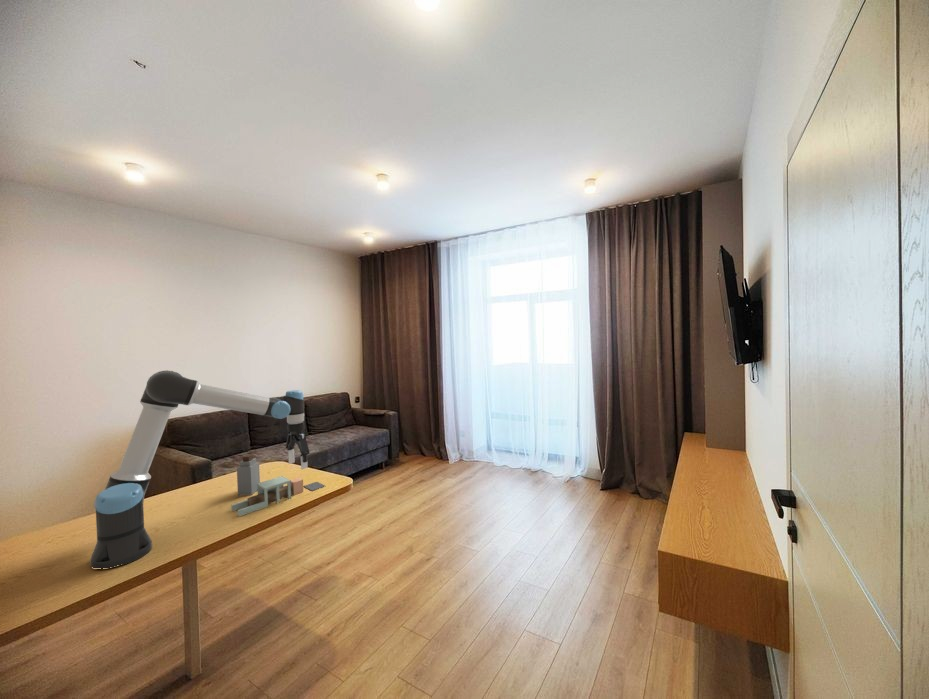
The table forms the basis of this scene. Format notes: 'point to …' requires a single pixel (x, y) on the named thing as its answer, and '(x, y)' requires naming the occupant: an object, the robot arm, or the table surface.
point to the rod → (269, 496)
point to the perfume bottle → (248, 475)
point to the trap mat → (314, 486)
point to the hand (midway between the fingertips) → (297, 465)
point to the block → (297, 485)
